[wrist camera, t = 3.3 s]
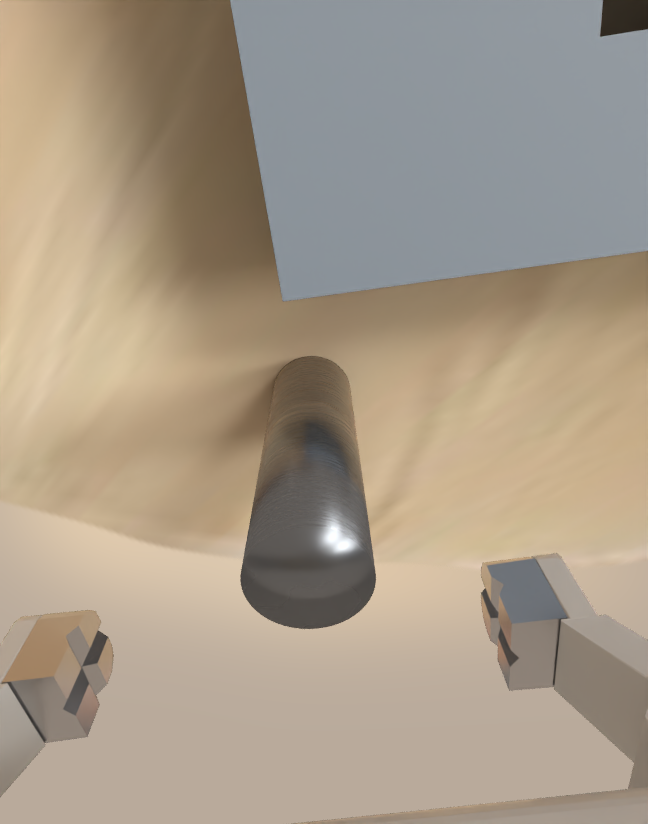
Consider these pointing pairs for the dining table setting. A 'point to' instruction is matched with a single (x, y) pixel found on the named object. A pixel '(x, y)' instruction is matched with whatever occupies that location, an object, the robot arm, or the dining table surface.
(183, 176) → the dining table surface
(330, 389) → the peg
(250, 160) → the dining table surface
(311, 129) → the hole block
